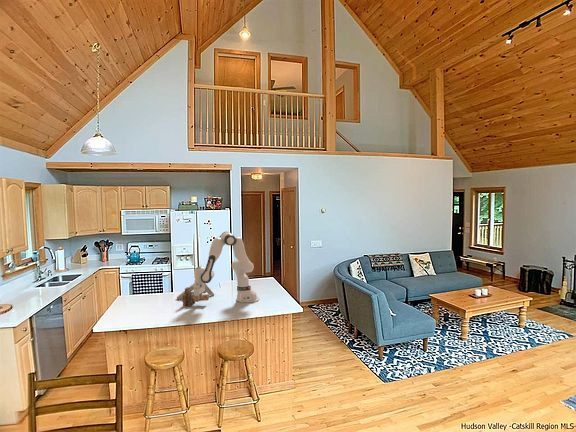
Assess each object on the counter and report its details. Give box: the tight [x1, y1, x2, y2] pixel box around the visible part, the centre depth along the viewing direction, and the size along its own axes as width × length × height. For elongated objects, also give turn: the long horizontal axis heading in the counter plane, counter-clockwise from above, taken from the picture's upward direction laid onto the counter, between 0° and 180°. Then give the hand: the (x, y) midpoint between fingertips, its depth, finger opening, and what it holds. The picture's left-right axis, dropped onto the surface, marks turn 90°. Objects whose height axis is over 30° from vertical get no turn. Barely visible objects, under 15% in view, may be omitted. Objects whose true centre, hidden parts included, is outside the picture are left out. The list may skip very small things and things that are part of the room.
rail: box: [190, 293, 210, 302], centre depth 314 cm, size 17×4×6 cm, turn 86°
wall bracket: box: [176, 283, 215, 300], centre depth 339 cm, size 22×4×30 cm
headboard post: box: [182, 286, 196, 308], centre depth 315 cm, size 7×16×16 cm, turn 175°
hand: (199, 298), depth 314 cm, fingers closed on rail, 3 cm apart
